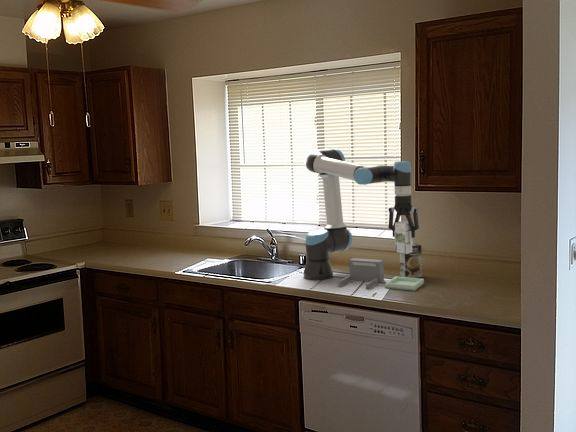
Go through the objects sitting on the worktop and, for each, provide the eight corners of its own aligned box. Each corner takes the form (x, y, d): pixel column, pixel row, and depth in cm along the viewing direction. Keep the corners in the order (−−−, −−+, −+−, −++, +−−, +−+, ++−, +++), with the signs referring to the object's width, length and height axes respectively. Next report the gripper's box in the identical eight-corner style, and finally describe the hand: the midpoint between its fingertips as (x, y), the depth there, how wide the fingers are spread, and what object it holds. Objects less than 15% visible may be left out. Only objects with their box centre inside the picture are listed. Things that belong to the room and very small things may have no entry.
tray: (385, 288, 282) (385, 283, 282) (395, 281, 294) (395, 276, 294) (414, 290, 275) (414, 285, 275) (423, 283, 287) (423, 278, 287)
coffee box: (405, 279, 298) (404, 246, 295) (399, 276, 304) (399, 244, 301) (422, 277, 300) (421, 245, 298) (416, 274, 306) (415, 242, 304)
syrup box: (412, 252, 283) (412, 221, 281) (405, 254, 279) (404, 223, 277) (402, 251, 287) (401, 220, 285) (395, 253, 282) (394, 222, 281)
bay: (337, 286, 289) (337, 265, 288) (353, 277, 305) (353, 258, 304) (369, 289, 281) (368, 268, 280) (383, 280, 297) (383, 260, 296)
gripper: (379, 195, 281) (381, 244, 284) (421, 196, 271) (421, 246, 274) (385, 193, 287) (387, 241, 290) (426, 194, 277) (426, 243, 281)
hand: (403, 244), depth 282 cm, fingers closed on syrup box, 6 cm apart
